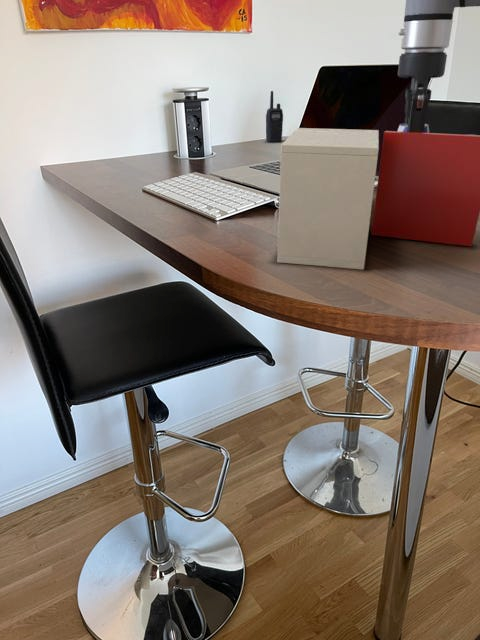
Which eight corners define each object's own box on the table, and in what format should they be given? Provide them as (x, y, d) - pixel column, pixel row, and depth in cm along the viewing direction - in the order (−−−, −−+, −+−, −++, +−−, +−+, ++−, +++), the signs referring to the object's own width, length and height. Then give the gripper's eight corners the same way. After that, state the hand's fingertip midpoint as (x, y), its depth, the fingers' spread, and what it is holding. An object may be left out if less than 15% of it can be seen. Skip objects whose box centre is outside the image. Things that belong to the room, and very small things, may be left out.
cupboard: (366, 234, 81) (378, 130, 73) (363, 269, 68) (378, 147, 60) (292, 229, 83) (297, 127, 76) (277, 262, 71) (281, 144, 63)
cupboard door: (377, 222, 86) (389, 125, 78) (471, 232, 81) (494, 130, 73) (371, 235, 80) (383, 131, 73) (471, 246, 75) (496, 137, 68)
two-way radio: (267, 142, 158) (268, 91, 151) (263, 140, 162) (263, 90, 155) (283, 142, 160) (285, 90, 152) (279, 139, 163) (280, 89, 156)
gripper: (398, 51, 91) (384, 179, 102) (402, 52, 76) (385, 203, 87) (441, 50, 90) (422, 180, 101) (455, 50, 74) (430, 205, 85)
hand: (405, 191), depth 94 cm, fingers closed on energy drink, 5 cm apart
